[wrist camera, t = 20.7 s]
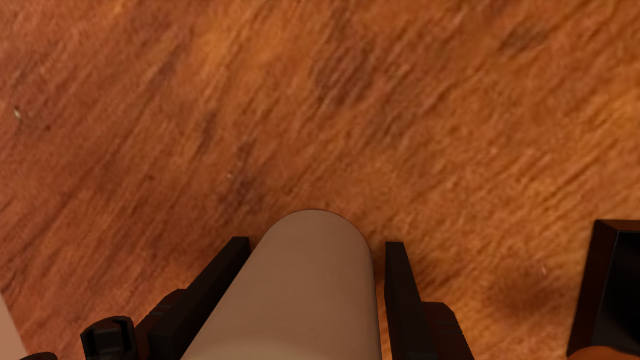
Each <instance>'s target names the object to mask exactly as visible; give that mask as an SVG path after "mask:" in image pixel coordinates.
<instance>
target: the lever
mask: <svg viewBox="0 0 640 360" xmlns="http://www.w3.org/2000/svg"><path fill="white" fill-rule="evenodd" d="M566 360H640V352H637V351H634V350H631V349H628V348H623V347H619V346H612V345H596V346H590V347H586V348H583V349H580V350H578V351H576V352H575V353H573V354H572V355H571V356H569V357H568V358H567V359H566Z"/></svg>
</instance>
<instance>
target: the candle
mask: <svg viewBox="0 0 640 360" xmlns="http://www.w3.org/2000/svg"><path fill="white" fill-rule="evenodd" d="M180 360H382V353H381V342H380V332H379V321H378V311H377V300H376V289H375V279H374V270H373V262H372V256H371V252H370V249H369V247H368V245H367V243H366V241H365V239H364V237H363V236H362V234H361V233H360V232H359V231H358V229H357V228H356V227H355V226H354V225H353V224H351V223H350V222H349V221H347V220H346V219H344V218H342V217H341V216H339V215H336V214H334V213H331V212H327V211H322V210H302V211H298V212H294V213H291V214H289V215H287V216H285V217H283V218H281V219H280V220H279V221H277V222H276V223H275V224H274V225H273V226H272V227H271V228H270V229H269V230H268V231H267V232H266V234H265V235H264V236H263V238H262V239H261V241H260V242H259V243H258V245H257V246H256V248H255V249H254V251H253V252H252V254H251V255H250V257H249V258H248V260H247V261H246V263H245V264H244V266H243V267H242V269H241V270H240V272H239V273H238V275H237V276H236V277H235V279H234V280H233V282H232V283H231V285H230V286H229V288H228V289H227V291H226V292H225V294H224V295H223V297H222V298H221V300H220V301H219V303H218V304H217V306H216V307H215V309H214V310H213V312H212V313H211V315H210V316H209V318H208V319H207V321H206V322H205V324H204V325H203V327H202V328H201V329H200V331H199V332H198V334H197V335H196V337H195V338H194V340H193V341H192V343H191V344H190V346H189V347H188V349H187V350H186V352H185V353H184V355H183V356H182V358H181V359H180Z"/></svg>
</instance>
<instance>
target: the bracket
mask: <svg viewBox="0 0 640 360" xmlns="http://www.w3.org/2000/svg"><path fill="white" fill-rule="evenodd" d="M596 345H612V346H619V347H623V348H628V349H631V350H634V351H637V352H640V221H620V220H596V223H595V228H594V232H593V237H592V242H591V246H590V251H589V256H588V260H587V265H586V270H585V274H584V279H583V283H582V288H581V293H580V297H579V302H578V307H577V311H576V316H575V321H574V325H573V330H572V335H571V339H570V344H569V349H568V353H567V358H568V357H569V356H571V355H572V354H573V353H575V352H576V351H578V350H580V349H583V348H586V347H590V346H596Z"/></svg>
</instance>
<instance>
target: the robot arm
mask: <svg viewBox="0 0 640 360" xmlns="http://www.w3.org/2000/svg"><path fill="white" fill-rule="evenodd" d="M249 257H250V249H249V237H232V239H231V240H230V241H229V242H228V243H227V244H226V245H225V246H224V247H223V249H222V250H221V251H220V252H219V253H218V254H217V255H216V256H215V258H214V259H213V260H212V261H211V262H210V263H209V264H208V265H207V266H206V268H205V269H204V270H203V271H202V272H201V273H200V274H199V275H198V276H197V278H196V279H195V280H194V281H193V282H192V283H191V284H190V285H189V286H188V288H187V289H176V290H175V291H173V292H171V293H170V294H168V295H166V296H165V297H164V298H163V299H162V300H161V301H160V302H159V303H158V304H157V306H156V307H154V308H153V309H152V310H151V311H150V312H149V315H146V316H145V318H144V319H143V320H142V321H141V322H140V323H139V324H138V325H137V326H136V327H135V328H134V325H133V321H132V320H131V318H130V317H127V316H113V317H108V318H105V319H102V320H100V321H98V322H95V323H94V324H92V325H91V326H89V327H87V328H86V329H85V330H84V331H83V332H82V333H81V334H80V337H81V341H82V345H83V349H84V353H85V358H86V360H180V359H181V358H182V356H183V355H184V353H185V352H186V350H187V349H188V347H189V346H190V344H191V343H192V341H193V340H194V338H195V337H196V335H197V334H198V332H199V331H200V329H201V328H202V327H203V325H204V324H205V322H206V321H207V319H208V318H209V316H210V315H211V313H212V312H213V310H214V309H215V307H216V306H217V304H218V303H219V301H220V300H221V298H222V297H223V295H224V294H225V292H226V291H227V289H228V288H229V286H230V285H231V283H232V282H233V280H234V279H235V277H236V276H237V275H238V273H239V272H240V270H241V269H242V267H243V266H244V264H245V263H246V261H247V260H248V258H249ZM384 299H385V306H386V314H387V322H388V329H389V337H390V345H391V353H392V360H474V357H473V355H472V353H471V351H470V348H469V346H468V344H467V342H466V339H465V337H464V335H463V334H462V330H461V328H460V326H459V325H458V321H457V319H456V317H455V314H454V312H453V311H452V310H451V309H450V308H449V307H447V306H446V305H445V304H444V303H441V302H423V301H421V299H420V296H419V293H418V289H417V286H416V283H415V280H414V276H413V273H412V270H411V267H410V263H409V260H408V257H407V254H406V250H405V247H404V244H403V243H401V242H386V257H385V282H384ZM20 360H58V359H57V356H56V355H55V354H54V353H51V352H41V353H36V354H32V355H29V356H26V357H24V358H22V359H20Z"/></svg>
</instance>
